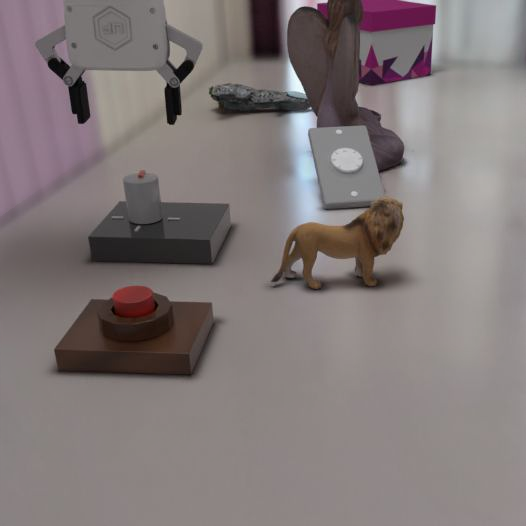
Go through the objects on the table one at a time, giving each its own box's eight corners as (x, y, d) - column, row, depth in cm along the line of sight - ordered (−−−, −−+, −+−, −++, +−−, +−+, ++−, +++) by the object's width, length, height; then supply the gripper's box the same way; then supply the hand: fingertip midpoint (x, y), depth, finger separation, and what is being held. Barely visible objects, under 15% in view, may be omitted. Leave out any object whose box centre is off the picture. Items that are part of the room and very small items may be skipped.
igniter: (58, 370, 71) (49, 331, 69) (94, 318, 80) (88, 282, 78) (191, 374, 71) (187, 335, 69) (213, 322, 79) (210, 285, 77)
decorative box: (378, 63, 198) (380, -3, 191) (432, 75, 186) (436, 5, 178) (318, 72, 188) (317, 3, 180) (370, 85, 175) (372, 12, 168)
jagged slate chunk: (314, 115, 147) (315, 84, 146) (205, 108, 145) (205, 77, 144) (311, 118, 163) (312, 91, 162) (212, 113, 161) (212, 85, 160)
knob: (160, 224, 94) (154, 180, 91) (125, 224, 94) (119, 180, 91) (164, 212, 97) (159, 169, 95) (131, 212, 97) (125, 170, 94)
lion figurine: (394, 264, 92) (396, 188, 87) (408, 283, 87) (412, 204, 83) (267, 277, 88) (263, 199, 84) (275, 297, 84) (272, 216, 80)
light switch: (325, 199, 106) (308, 122, 113) (322, 228, 111) (306, 153, 118) (387, 195, 107) (367, 119, 115) (381, 224, 112) (362, 150, 120)
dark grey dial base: (91, 261, 92) (87, 235, 90) (122, 223, 102) (119, 199, 101) (212, 264, 91) (209, 238, 90) (231, 226, 102) (229, 202, 100)
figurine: (419, 169, 123) (428, -8, 110) (331, 181, 118) (329, -3, 105) (369, 140, 137) (372, -20, 124) (288, 150, 132) (283, -16, 119)
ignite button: (109, 319, 72) (107, 302, 71) (121, 301, 75) (119, 284, 74) (149, 320, 72) (146, 303, 71) (159, 302, 75) (157, 285, 74)
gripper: (10, -50, 76) (39, 129, 85) (192, -46, 78) (203, 131, 86) (32, -55, 83) (57, 112, 91) (200, -51, 84) (209, 114, 93)
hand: (128, 121), depth 89 cm, fingers open, 9 cm apart
